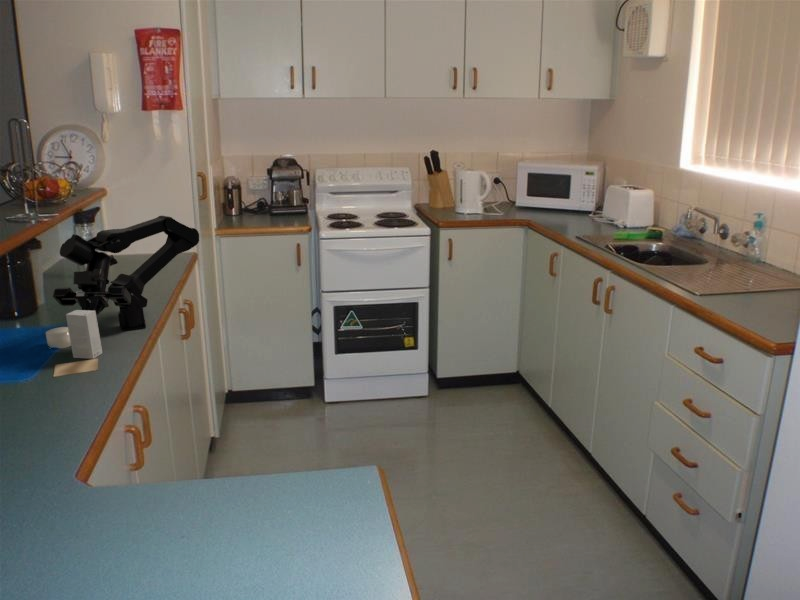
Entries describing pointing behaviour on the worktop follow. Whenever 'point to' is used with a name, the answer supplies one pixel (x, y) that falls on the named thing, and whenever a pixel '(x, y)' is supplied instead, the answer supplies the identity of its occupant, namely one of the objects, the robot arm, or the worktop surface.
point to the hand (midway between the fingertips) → (87, 324)
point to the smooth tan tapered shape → (76, 367)
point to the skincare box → (84, 334)
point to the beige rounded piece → (58, 337)
